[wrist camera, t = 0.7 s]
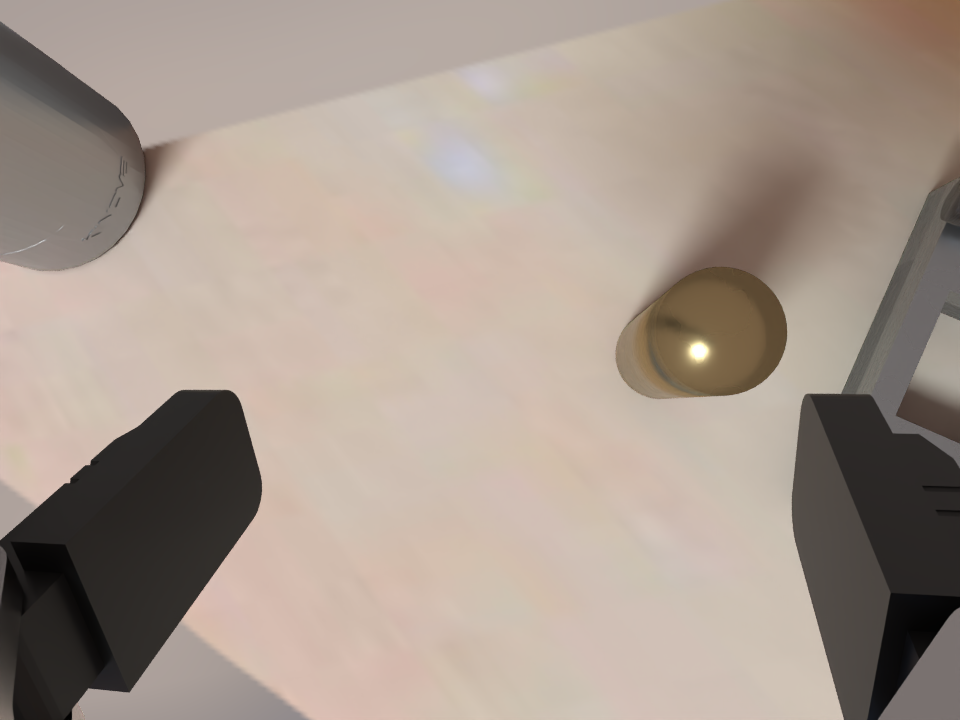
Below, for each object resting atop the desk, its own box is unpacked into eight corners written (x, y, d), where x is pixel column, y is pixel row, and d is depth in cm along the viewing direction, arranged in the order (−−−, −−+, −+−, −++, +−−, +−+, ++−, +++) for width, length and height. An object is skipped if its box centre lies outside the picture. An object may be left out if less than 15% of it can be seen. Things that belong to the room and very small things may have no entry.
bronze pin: (601, 376, 34) (634, 363, 23) (637, 297, 34) (686, 246, 23) (682, 413, 34) (755, 416, 23) (718, 332, 34) (807, 298, 23)
